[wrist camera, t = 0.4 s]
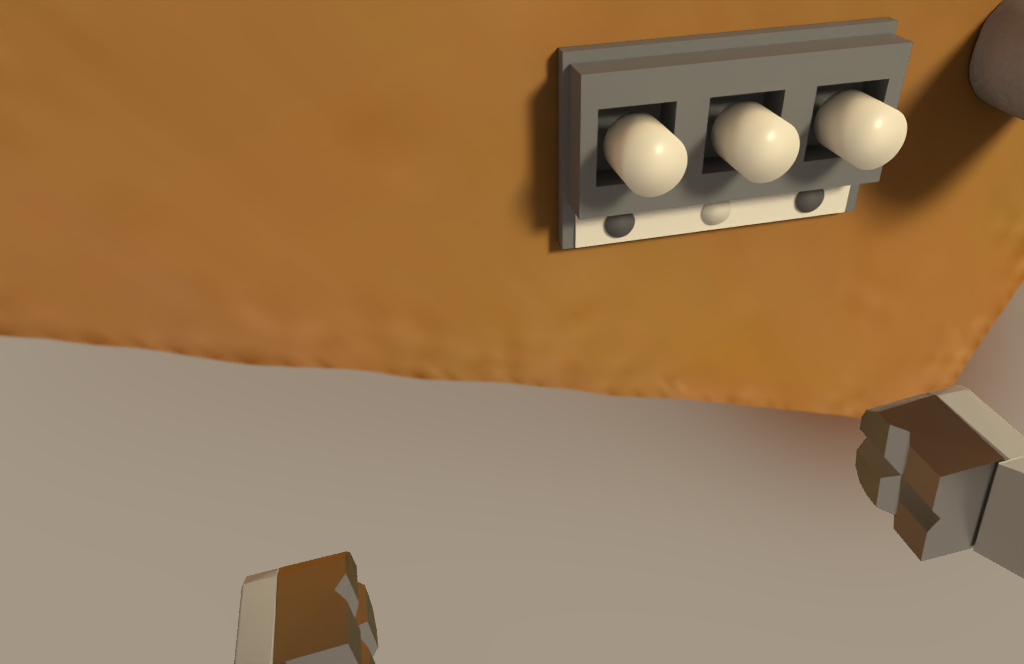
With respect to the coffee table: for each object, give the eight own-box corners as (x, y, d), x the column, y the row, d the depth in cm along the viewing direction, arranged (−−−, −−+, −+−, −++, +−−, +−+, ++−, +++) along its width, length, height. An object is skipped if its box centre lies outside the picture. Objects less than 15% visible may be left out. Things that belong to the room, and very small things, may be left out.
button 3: (819, 91, 55) (854, 111, 52) (875, 85, 56) (914, 104, 52) (808, 150, 58) (841, 173, 54) (862, 144, 58) (898, 166, 55)
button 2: (714, 103, 54) (742, 123, 50) (772, 97, 55) (804, 116, 51) (707, 163, 56) (734, 186, 53) (763, 156, 57) (793, 179, 54)
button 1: (604, 114, 53) (625, 137, 49) (665, 108, 53) (690, 129, 50) (602, 175, 55) (622, 200, 52) (660, 168, 56) (684, 193, 52)
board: (558, 47, 53) (573, 63, 50) (888, 16, 57) (922, 29, 54) (558, 242, 62) (572, 266, 58) (845, 204, 65) (873, 225, 62)
